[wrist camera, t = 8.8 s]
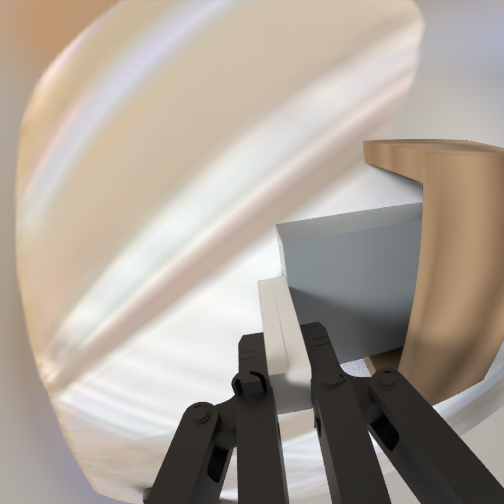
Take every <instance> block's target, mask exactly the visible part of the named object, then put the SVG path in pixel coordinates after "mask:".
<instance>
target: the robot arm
mask: <svg viewBox="0 0 504 504" xmlns="http://www.w3.org/2000/svg"><path fill="white" fill-rule="evenodd" d="M257 282H258V290H259V299H260V307H261V316H262V324H263V332H261V333H255V334H248V335H243V336H242V338H241V340H240V341H239V343H238V352H239V354H238V355H239V373H237V374H236V375H235V377H234V378H233V379H232V383H231V385H232V388H233V391H234V393H235V395H234V396H233V397H232V398H231V399H229V400H227V401H225V402H223V403H220V404H217V405H215V406H214V405H212V404H211V403H208V402H198V403H195V404H192V405H191V406H189V407H188V408H187V409H186V411H185V412H184V414H183V417H182V419H181V421H180V424H179V426H178V428H177V431H176V433H175V435H174V438H173V440H172V442H171V445H170V447H169V449H168V452H167V454H166V456H165V459H164V461H163V463H162V465H161V468H160V470H159V472H158V475H157V477H156V479H155V482H154V484H153V486H152V488H149V489H145V490H144V493H143V503H144V504H220V501H219V496H220V493H221V490H222V487H223V483H224V480H225V476H226V473H227V470H228V466H229V463H230V459H231V456H232V452H233V449H234V447H237V479H238V504H289V497H288V489H287V482H286V474H285V466H284V458H283V451H282V443H281V435H280V428H279V422H278V416H277V415H278V414H284V413H290V412H296V411H301V410H306V409H311V408H312V406H313V410H314V428H316V429H317V434H318V438H319V443H320V447H321V452H322V457H323V461H324V466H325V471H326V475H327V480H328V485H329V490H330V494H331V500H332V504H391V501H390V497H389V494H388V491H387V487H386V484H385V481H384V478H383V474H382V471H381V468H380V465H379V462H378V459H377V456H376V453H375V450H374V447H373V444H372V441H371V438H370V435H369V432H370V434H371V435H372V436H373V438H374V439H375V441H376V442H377V443H378V445H379V446H380V448H381V449H382V450H383V452H384V453H385V455H386V456H387V457H388V459H389V460H390V462H391V463H392V464H393V466H394V467H395V469H396V470H397V471H398V473H399V474H400V475H401V477H402V478H403V480H404V481H405V482H406V484H407V485H408V487H409V488H410V489H411V491H412V492H413V493H414V495H415V496H416V498H417V499H418V500H419V502H420V503H421V504H504V488H503V487H502V486H501V485H500V483H499V482H498V481H497V480H496V478H495V477H494V476H493V475H492V474H491V473H490V472H489V470H488V469H487V468H486V467H485V466H484V464H483V463H482V462H481V461H480V460H479V459H478V458H477V456H476V455H475V454H474V453H473V452H472V451H471V450H470V448H469V447H468V446H467V445H466V444H465V443H464V442H463V441H462V439H461V438H460V437H459V436H458V435H457V434H456V433H455V432H454V430H453V429H452V428H451V427H450V426H449V425H448V424H447V423H446V422H445V420H444V419H443V418H442V417H441V416H440V415H439V414H438V413H437V412H436V411H435V409H434V408H433V407H432V406H431V405H430V404H429V403H428V402H427V401H426V400H425V399H424V398H423V396H422V395H421V394H420V393H419V392H418V391H417V390H416V389H415V388H414V387H413V386H412V385H411V384H410V382H409V381H408V380H407V379H406V378H405V377H404V376H403V375H402V374H401V373H400V372H398V371H397V370H395V369H391V368H383V369H380V370H378V371H376V372H375V373H374V374H373V375H372V377H354V376H351V375H349V374H347V373H345V372H344V371H343V370H342V368H341V366H340V364H339V361H338V359H337V356H336V353H335V351H334V348H333V345H332V344H331V340H330V338H329V335H328V333H327V330H326V328H325V327H324V326H323V325H322V324H321V323H320V322H313V323H308V324H303V325H299V323H298V319H297V316H296V312H295V309H294V305H293V302H292V298H291V295H290V292H289V288H288V285H287V281H286V278H285V276H282V277H277V278H271V279H265V280H259V281H257ZM368 431H369V432H368Z"/></svg>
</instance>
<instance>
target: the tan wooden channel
mask: <svg viewBox="0 0 504 504" xmlns="http://www.w3.org/2000/svg"><path fill="white" fill-rule="evenodd" d="M363 142H364V152H365V163H368V164H371V165H374V166H377V167H380V168H383V169H386V170H389V171H392V172H394V173H397V174H400V175H403V176H405V177H408V178H411V179H413V180H416V181H418V182H421V183H423V215H422V233H421V246H420V256H419V265H418V273H417V281H416V288H415V294H414V300H413V306H412V311H411V316H410V322H409V326H408V331H407V336H406V340H405V344H404V346H402V347H399V348H396V349H393V350H390V351H386V352H383V353H380V354H376V355H373V356H369V357H365V358H363V359H364V361H365V363H366V366H367V368H368V370H369V372H370V374H371V376H372V375H373V374H374V373H375V372H376V371H378V370H380V369H383V368H391V369H395V370H397V371H398V372H400V373H401V374H402V375H403V376H404V377H405V378H406V379H407V380H408V381H409V382H410V384H411V385H412V386H413V387H414V388H415V389H416V390H417V391H418V392H419V393H420V394H421V395H422V396H423V398H424V399H425V400H426V401H427V402H428V403H429V404H430V405H431V406H433V405H436V404H438V403H440V402H442V401H444V400H446V399H448V398H450V397H452V396H454V395H456V394H458V393H460V392H462V391H464V390H466V389H468V388H470V387H471V386H473V385H475V384H477V383H479V382H480V381H482V380H483V379H484V377H485V376H486V374H487V372H488V370H489V368H490V366H491V365H492V363H493V361H494V359H495V357H496V355H497V353H498V350H499V348H500V346H501V344H502V342H503V340H504V148H500V147H496V146H492V145H487V144H482V143H478V142H472V141H467V140H441V139H438V140H437V139H402V140H374V141H363Z"/></svg>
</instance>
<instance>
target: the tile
mask: <svg viewBox="0 0 504 504" xmlns="http://www.w3.org/2000/svg"><path fill="white" fill-rule="evenodd" d="M422 215H423V202H421V203H414V204H406V205H399V206H392V207H385V208H378V209H371V210H364V211H358V212H351V213H344V214H338V215H332V216H325V217H319V218H313V219H306V220H300V221H294V222H288V223H282V224H276V231H277V238H278V245H279V252H280V259H281V267H282V274H283V276H285V278H286V281H287V285H288V288H289V292H290V295H291V298H292V302H293V305H294V309H295V312H296V316H297V319H298V323H299V325H303V324H308V323H313V322H320V323H321V324H322V325H323V326H324V327H325V328H326V330H327V333H328V335H329V338H330V340H331V344H332V345H333V348H334V351H335V353H336V356H337V359H338V361H339V364H342V363H346V362H350V361H354V360H358V359H362V358H365V357H369V356H373V355H376V354H380V353H383V352H386V351H390V350H393V349H396V348H399V347H402V346H404V344H405V340H406V336H407V331H408V326H409V322H410V316H411V311H412V306H413V300H414V294H415V288H416V281H417V273H418V265H419V256H420V246H421V233H422Z"/></svg>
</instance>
